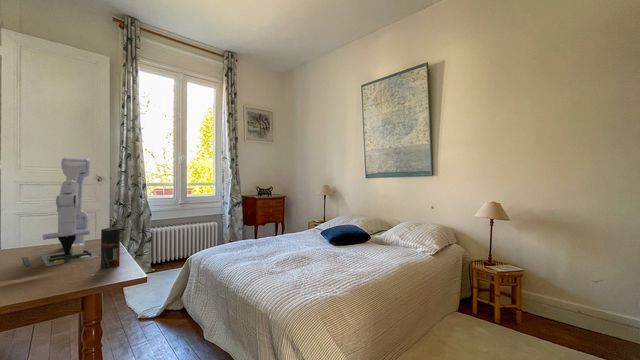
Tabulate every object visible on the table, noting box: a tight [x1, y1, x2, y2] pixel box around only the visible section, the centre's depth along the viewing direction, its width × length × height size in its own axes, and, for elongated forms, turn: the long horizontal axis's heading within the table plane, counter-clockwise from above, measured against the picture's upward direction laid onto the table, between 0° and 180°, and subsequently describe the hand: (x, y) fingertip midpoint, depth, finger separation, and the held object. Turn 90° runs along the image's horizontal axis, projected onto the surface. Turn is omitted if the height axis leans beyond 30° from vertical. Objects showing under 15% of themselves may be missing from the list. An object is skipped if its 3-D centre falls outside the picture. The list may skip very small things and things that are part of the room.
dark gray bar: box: [22, 256, 32, 268], centre depth 108 cm, size 16×1×1 cm, turn 50°
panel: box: [40, 247, 99, 267], centre depth 117 cm, size 20×16×2 cm
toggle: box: [70, 243, 85, 255], centre depth 119 cm, size 4×4×5 cm
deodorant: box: [100, 227, 121, 270], centre depth 109 cm, size 6×6×15 cm
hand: (66, 253), depth 116 cm, fingers closed
